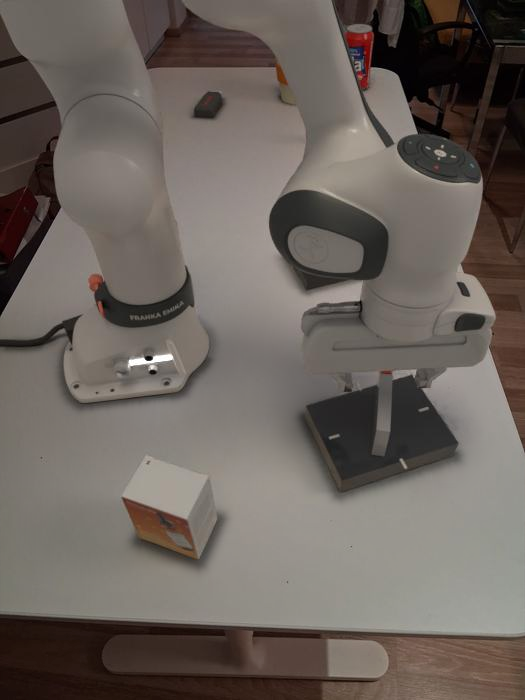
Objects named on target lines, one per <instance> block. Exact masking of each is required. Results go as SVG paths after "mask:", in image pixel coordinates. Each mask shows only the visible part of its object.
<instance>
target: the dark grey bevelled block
mask: <svg viewBox="0 0 525 700" xmlns="http://www.w3.org/2000/svg"><path fill="white" fill-rule="evenodd" d="M222 106H223V91H219V90H210V91H209V90H208V91H207V92H205V94H203V95H202V97H201V98H200V99H199V100H198V102H197V104H196V105H194V108H193V116H194V117H195V118H208V119H209V118H210V119H214V118H215V116H216V115H217V114H218V112H219V110H220V109H221V107H222Z"/></svg>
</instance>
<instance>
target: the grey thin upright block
mask: <svg viewBox="0 0 525 700" xmlns="http://www.w3.org/2000/svg"><path fill="white" fill-rule="evenodd" d="M393 376H394V370H393V371H378V377H377V383H376V385H377V387H376V393H375V407H374V422H373V437H372V452H371V455H376V456H383V457H384V456H385V452H386V447H387V443H388V439H389V435H390V427H391V403H392V380H394V379H393Z"/></svg>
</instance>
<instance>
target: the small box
mask: <svg viewBox="0 0 525 700" xmlns="http://www.w3.org/2000/svg"><path fill="white" fill-rule="evenodd" d="M120 498H121V500H122V502H123V504H124V508H125V509H126V511H127V513H128V516H129V518H130V521H131V523H132V525H133V527H134V530H135V532H136V534H137V536H138V538H139V539H141V540H143V541H144V540H145V541H147V542H150V543H153V544H155V545H157V546H161V547H163V548H166V549H169V550H170V551H174V552H176V553H179V554H182V555H184V556H187V557H189V558H192V559H194V560H197V561H198V560H200V558H201V556H202V554H203V552H204V550H205V547H206V546H207V543H208V541H209V539H210V536H211V535H212V533H213V530H214V528H215V526H216V523H217V521H218V520H219V519H218V513H217V509H216V504H215V498H214V491H213V486H212V483H211V476H210V475H209V474H207V473H202V472H199V471H196V470H193V469H189V468H186V467H183V466H180V465H177V464H174V463H171V462H168V461H166V460H163V459H160V458H156V457H154V456H151V455H149V454H145V456H144V457H143V459H142V461H141V462H140V464H139V466H138V467H137V469H136V470H135V472H134V474H133V476H132V477H131V479H130V481H129V482H128V483H127V485H126V487H125V489H124V491H123V492H122V494H121V496H120Z"/></svg>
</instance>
